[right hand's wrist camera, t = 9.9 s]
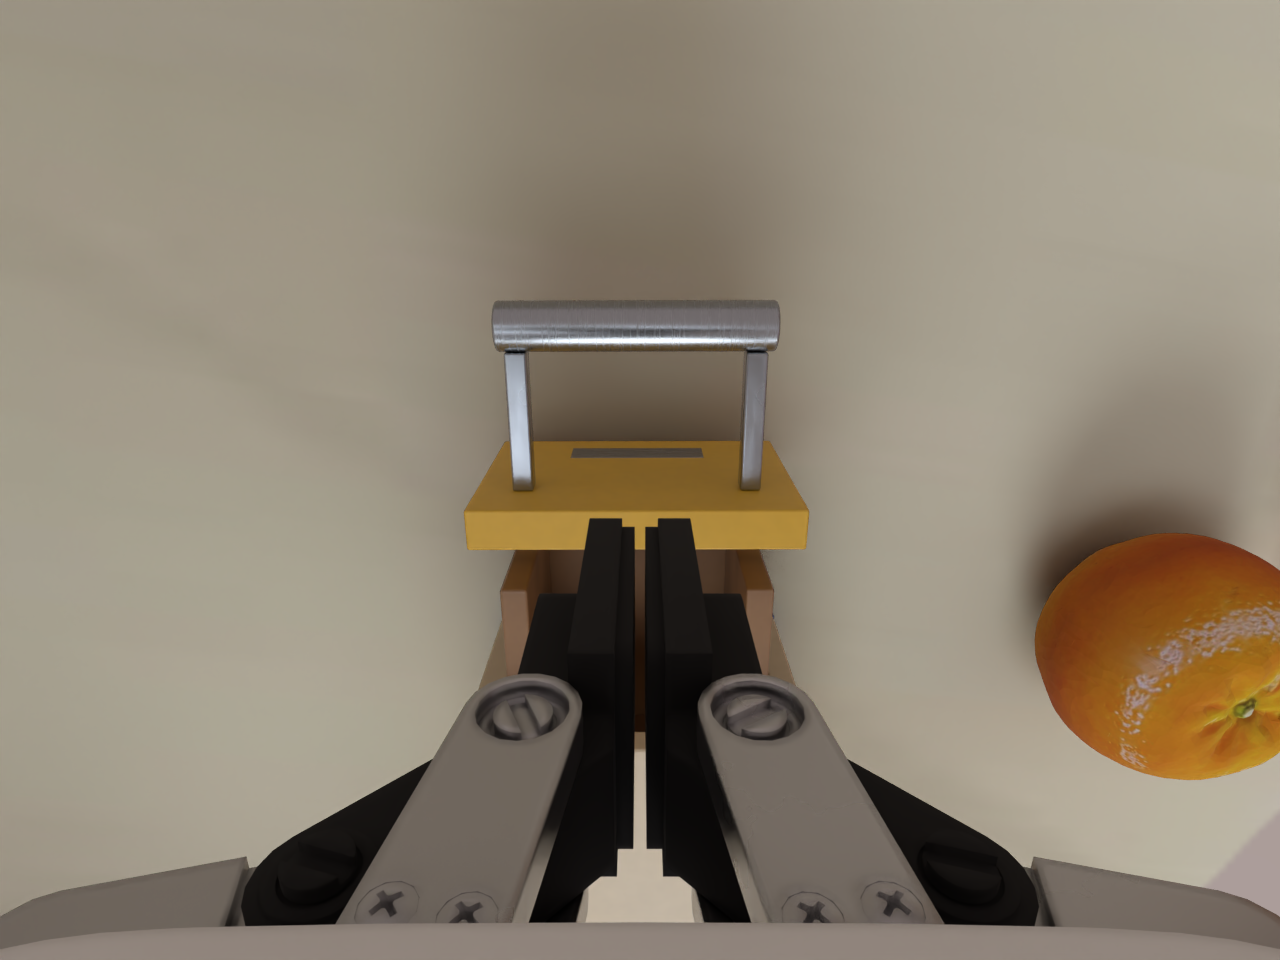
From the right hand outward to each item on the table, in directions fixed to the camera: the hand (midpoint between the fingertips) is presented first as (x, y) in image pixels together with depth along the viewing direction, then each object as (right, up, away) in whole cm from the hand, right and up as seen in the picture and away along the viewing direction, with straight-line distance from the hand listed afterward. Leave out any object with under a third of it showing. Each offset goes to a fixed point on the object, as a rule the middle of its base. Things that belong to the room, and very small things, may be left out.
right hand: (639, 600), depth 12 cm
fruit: (+19, -3, +17) cm, 26 cm away
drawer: (0, 0, +15) cm, 15 cm away
